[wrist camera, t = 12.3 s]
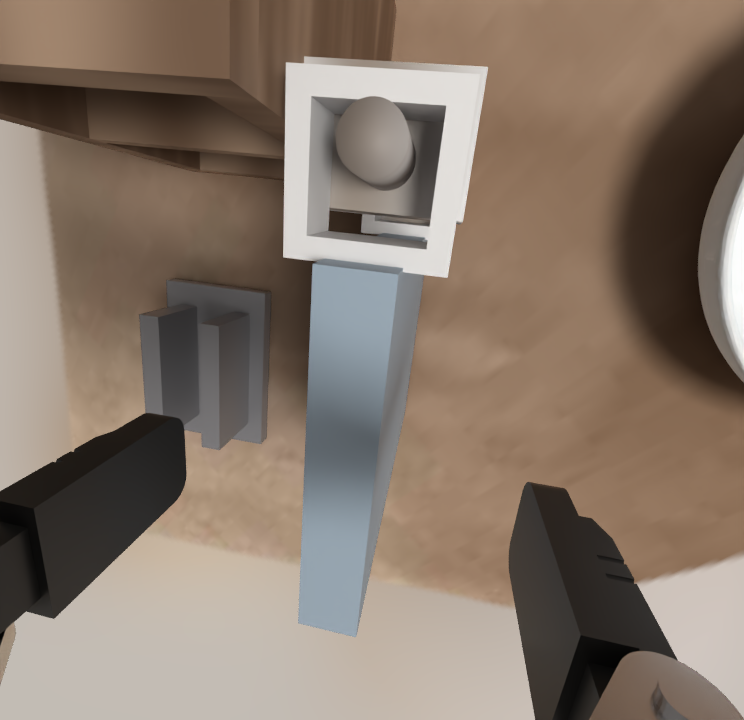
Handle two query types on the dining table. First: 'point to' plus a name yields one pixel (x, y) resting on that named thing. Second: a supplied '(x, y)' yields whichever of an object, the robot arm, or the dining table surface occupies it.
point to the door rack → (209, 360)
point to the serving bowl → (725, 262)
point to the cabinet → (222, 89)
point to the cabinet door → (360, 318)
